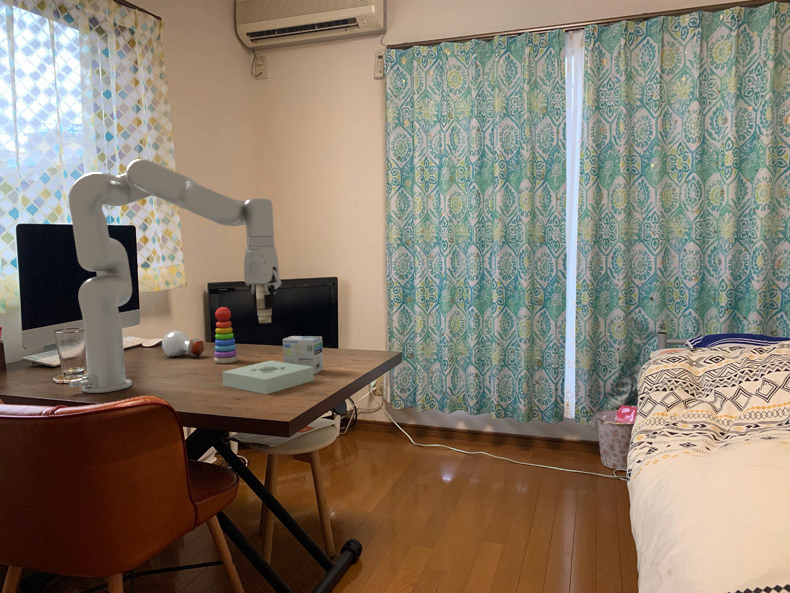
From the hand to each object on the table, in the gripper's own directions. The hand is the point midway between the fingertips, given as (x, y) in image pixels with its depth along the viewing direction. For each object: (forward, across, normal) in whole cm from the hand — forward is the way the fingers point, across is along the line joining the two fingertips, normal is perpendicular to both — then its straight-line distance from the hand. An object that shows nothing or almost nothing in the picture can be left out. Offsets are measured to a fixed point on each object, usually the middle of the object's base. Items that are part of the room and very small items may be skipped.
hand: (264, 307), depth 164 cm
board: (+22, 0, 0) cm, 22 cm away
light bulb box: (+22, -2, +16) cm, 27 cm away
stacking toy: (+22, -36, +13) cm, 44 cm away
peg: (+4, 0, 0) cm, 4 cm away
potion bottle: (+22, -57, +11) cm, 62 cm away
